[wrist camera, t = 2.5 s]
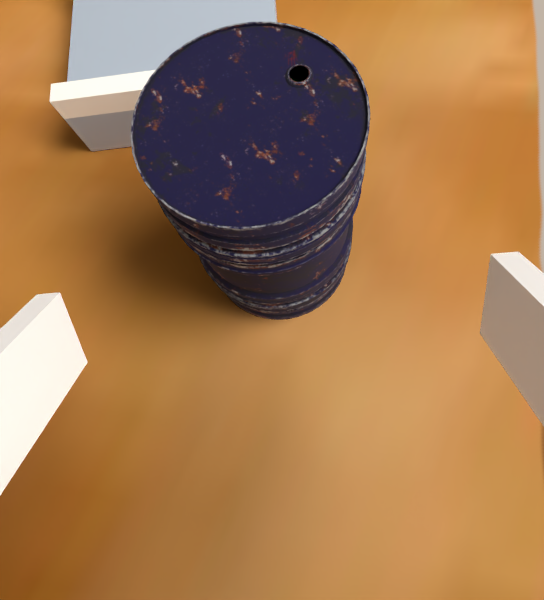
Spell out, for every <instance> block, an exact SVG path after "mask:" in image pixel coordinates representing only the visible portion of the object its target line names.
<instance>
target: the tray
mask: <svg viewBox="0 0 544 600" xmlns="http://www.w3.org/2000/svg"><path fill="white" fill-rule="evenodd" d="M246 22H277V13H276V1H275V0H73V13H72V26H71V39H70V51H69V64H68V77H67V82H62V83H54V84H51V92H50V103H51V104H52V105H53V106H54V108H55V109H56V110H57V111H58V112H59V114H60V115H61V116H62V117H63V118H64V119H65V121H66V122H67V123H68V124H69V125H70V127H71V128H72V129H73V130H74V131H75V133H76V134H77V135H78V136H79V137H80V138H81V140H82V141H83V142H84V143H85V144H86V146H87V147H88V148H89V149H90V150H91V151H99V150H107V149H115V148H124V147H132V145H131V122H132V118H133V113H134V109H135V105H136V103H137V101H138V98H139V96H140V93H141V91H142V89H143V88H144V86H145V84H146V83H147V81H148V79H149V78H150V76H151V75H152V74H153V73H154V71H155V70H156V69H157V68H158V67H159V65H160V64H161V63H162V62H163V61H164V60H166V59H167V58H168V57H169V56H170V55H171V54H172V53H173V52H175V51H176V50H177V49H179V48H180V47H182V46H183V45H184V44H186V43H187V42H189V41H191V40H193V39H195V38H197V37H198V36H200V35H202V34H205V33H207V32H210V31H212V30H215V29H218V28H221V27H225V26H229V25H233V24H238V23H246Z"/></svg>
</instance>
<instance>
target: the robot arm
mask: <svg viewBox="0 0 544 600" xmlns="http://www.w3.org/2000/svg"><path fill="white" fill-rule="evenodd" d="M480 334H481V336H482V337H483V339H484V340H485V341H486V343H487V344H488V346H489V347H490V349H491V350H492V352H493V353H494V355H495V356H496V358H497V359H498V360H499V362H500V363H501V365H502V366H503V368H504V369H505V371H506V372H507V374H508V375H509V376H510V378H511V379H512V381H513V382H514V384H515V385H516V387H517V388H518V390H519V391H520V393H521V394H522V395H523V397H524V398H525V400H526V401H527V403H528V404H529V406H530V407H531V409H532V410H533V411H534V413H535V414H536V416H537V417H538V419H539V420H540V422H541V423H542V425H543V426H544V273H543V272H541V271H540V270H539V269H538V268H537V267H536V266H534V265H533V264H532V263H531V262H530V261H529V260H527V259H526V258H525V257H524V256H523V255H522V254H520V253H519V252H509V253H497V254H491V256H490V263H489V270H488V278H487V285H486V292H485V300H484V307H483V314H482V322H481V329H480ZM86 364H87V360H86V357H85V355H84V352H83V350H82V347H81V345H80V342H79V340H78V337H77V335H76V332H75V330H74V327H73V324H72V322H71V319H70V317H69V314H68V312H67V309H66V307H65V304H64V302H63V299H62V297H61V294H60V292H59V293H48V294H37V295H36V296H35V297H34V298H33V299H32V300H30V301H29V302H28V303H27V304H26V305H25V306H24V307H23V308H22V309H21V310H20V311H19V312H18V313H17V314H16V315H15V316H14V317H13V318H11V319H10V320H9V321H8V322H7V323H6V324H5V325H4V326H3V327H2V328H1V329H0V495H1V493H2V492H3V490H4V489H5V487H6V486H7V484H8V483H9V481H10V480H11V478H12V477H13V475H14V474H15V472H16V471H17V469H18V468H19V466H20V464H21V463H22V461H23V460H24V458H25V457H26V455H27V454H28V452H29V451H30V449H31V448H32V446H33V445H34V443H35V442H36V440H37V439H38V437H39V436H40V434H41V432H42V431H43V429H44V428H45V426H46V425H47V423H48V422H49V420H50V419H51V417H52V416H53V414H54V413H55V411H56V410H57V408H58V407H59V405H60V404H61V402H62V401H63V399H64V397H65V396H66V394H67V393H68V391H69V390H70V388H71V387H72V385H73V384H74V382H75V381H76V379H77V378H78V376H79V375H80V373H81V372H82V370H83V369H84V367H85V365H86Z"/></svg>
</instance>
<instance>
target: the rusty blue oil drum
mask: <svg viewBox="0 0 544 600" xmlns="http://www.w3.org/2000/svg"><path fill="white" fill-rule="evenodd" d="M369 124H370V107H369V99H368V94H367V91H366V88H365V85H364V82H363V80H362V78H361V76H360V74H359V72H358V71H357V69H356V67H355V66H354V64H353V63H352V62H351V61H350V59H349V58H348V57H347V56H346V55H345V54H344V53H343V52H342V51H341V50H340V49H339V48H338V47H336V46H335V45H334V44H333V43H331V42H330V41H328V40H327V39H325V38H323V37H322V36H320V35H318V34H316V33H314V32H311V31H309V30H307V29H304V28H301V27H297V26H294V25H290V24H285V23H277V22H246V23H238V24H233V25H229V26H225V27H221V28H218V29H215V30H212V31H210V32H207V33H205V34H202V35H200V36H198V37H197V38H195V39H193V40H191V41H189V42H187V43H186V44H184V45H183V46H182V47H180V48H179V49H177V50H176V51H175V52H173V53H172V54H171V55H170V56H169V57H168V58H167V59H166V60H164V61H163V62H162V63H161V64H160V65H159V67H158V68H157V69H156V70H155V71H154V73H153V74H152V75H151V76H150V78H149V79H148V81H147V83H146V84H145V86H144V88H143V89H142V91H141V93H140V96H139V98H138V101H137V103H136V105H135V109H134V113H133V118H132V122H131V145H132V153H133V156H134V160H135V163H136V166H137V169H138V171H139V173H140V174H141V176H142V178H143V180H144V182H145V184H146V185H147V186H148V188H149V189H150V190H151V192H152V193H153V194H154V196H155V197H156V198H157V200H158V202H159V204H160V206H161V208H162V210H163V212H164V214H165V215H166V217H167V218H168V219H169V221H170V222H171V223H172V225H173V226H174V227H175V228H176V230H177V232H178V233H179V235H180V236H181V238H182V239H183V240H184V241H185V243H186V244H187V245H188V246H189V247H190V248H191V249H192V250H193V251H194V252H196V253H197V254H198V255H199V257H200V260H201V263H202V264H203V266H204V268H205V270H206V272H207V273H208V274H209V276H210V277H211V278H212V279H213V281H214V282H215V283H216V284H217V285H218V286H219V288H220V289H221V290H222V291H223V292H224V293H225V294H226V295H227V296H228V297H229V298H230V299H231V300H232V301H233V302H234V303H235V304H236V305H237V306H238V307H240V308H242V309H243V310H245V311H246V312H248V313H251V314H253V315H255V316H258V317H262V318H266V319H277V320H278V319H290V318H295V317H299V316H302V315H304V314H307V313H309V312H311V311H313V310H314V309H316V308H318V307H319V306H321V305H322V304H323V303H324V302H326V301H327V300H328V299H329V298H330V296H331V295H332V294H333V293H334V292H335V290H336V289H337V287H338V286H339V284H340V282H341V279H342V277H343V275H344V271H345V267H346V264H347V262H348V258H349V254H350V250H351V243H352V230H353V218H352V217H353V215H354V213H355V211H356V208H357V206H358V202H359V198H360V194H361V185H362V181H363V176H364V171H365V161H366V144H367V139H368V133H369Z"/></svg>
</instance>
